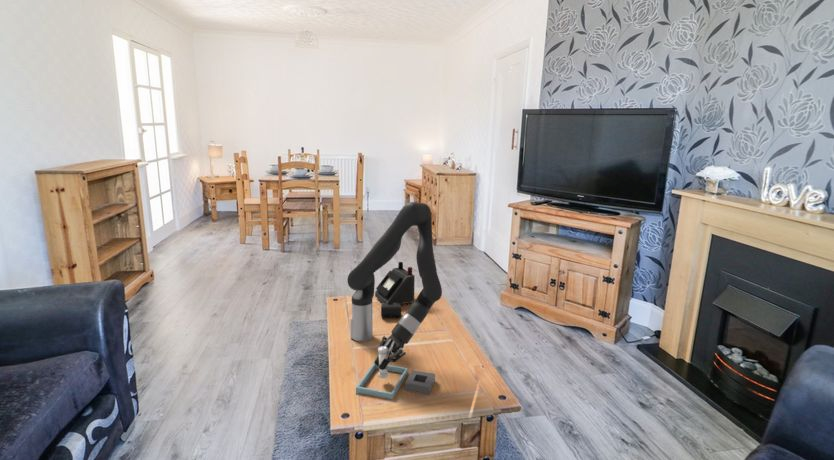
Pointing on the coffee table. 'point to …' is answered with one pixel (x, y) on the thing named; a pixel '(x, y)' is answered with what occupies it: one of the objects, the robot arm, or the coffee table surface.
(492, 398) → the coffee table surface
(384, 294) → the voltmeter
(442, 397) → the coffee table surface
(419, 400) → the coffee table surface
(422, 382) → the socket block
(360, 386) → the parts tray
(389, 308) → the black rectangular block
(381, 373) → the white light bulb
